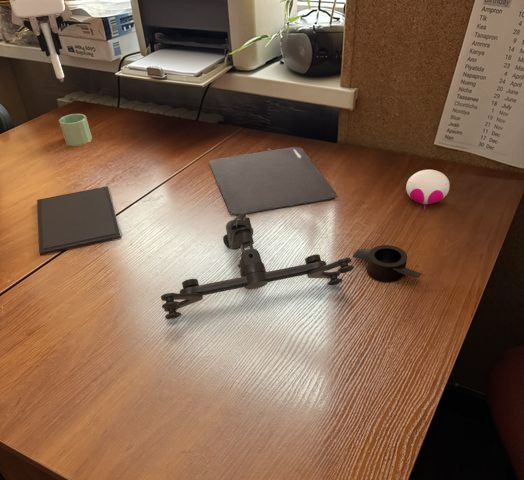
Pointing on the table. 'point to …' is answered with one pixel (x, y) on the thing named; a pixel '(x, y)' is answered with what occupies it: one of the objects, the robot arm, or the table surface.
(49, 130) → the table surface
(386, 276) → the black winged ring
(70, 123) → the pen cup
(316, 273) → the tablet mount
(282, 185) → the mouse pad
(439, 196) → the stress ball
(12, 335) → the table surface
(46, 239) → the tablet
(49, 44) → the stylus
